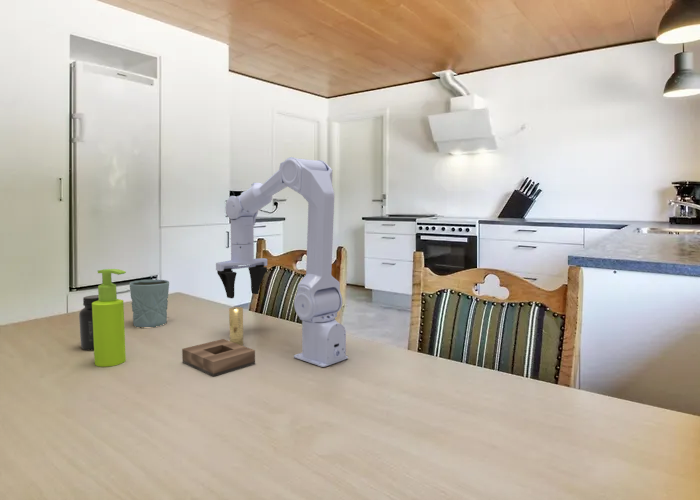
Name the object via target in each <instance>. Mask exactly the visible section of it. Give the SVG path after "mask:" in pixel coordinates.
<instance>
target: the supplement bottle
mask: <svg viewBox="0 0 700 500" xmlns="http://www.w3.org/2000/svg"><path fill="white" fill-rule="evenodd" d="M98 300H99V297H98V294H94V295H93V294H92V295H86V296H84V297H83V298H82V301H83V304H82V305H83V308H82V309H81V310H80V311H79V312H78V313H79V314H78V317H79V318H78V319H79V320H78V321H79V335H80V338H79V339H80V347H81V349H82V350H85V351H94V338H93V316H92V303H93V302H95V301H98Z"/></svg>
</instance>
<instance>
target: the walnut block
mask: <svg viewBox="0 0 700 500" xmlns="http://www.w3.org/2000/svg"><path fill="white" fill-rule="evenodd" d="M181 353H182V354H181V355H182V363H183V364H185V365H187V366H189V367H192V368H194V369H196V370H198V371H200V372H202V373H205V374H207V375H209V376H212V377H217V376H221V375H224V374H227V373H231V372H233V371H236V370H237V371H238V370H240V369H243V368H246V367H247V368H248V367H250V366H253V365H256V350H255V349H253V348H250V347H247V346H244V345H243V346H242V345H239V344H236V343H233V342H230V340H227V339H225V338H220V339H216V340H213V341H209V342H206V343H201V344H197V345H194V346H192V345H191V346H189V347H185V348H181Z"/></svg>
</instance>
